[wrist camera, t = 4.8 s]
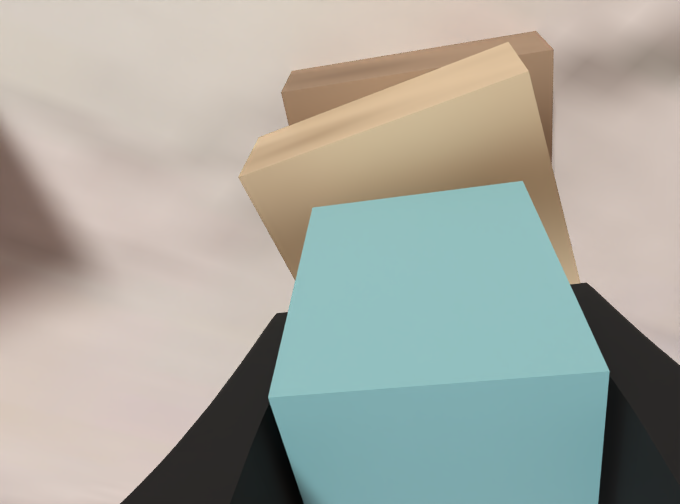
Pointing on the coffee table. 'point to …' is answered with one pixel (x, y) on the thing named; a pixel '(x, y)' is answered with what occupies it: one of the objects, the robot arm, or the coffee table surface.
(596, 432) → the teal block
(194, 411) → the coffee table surface
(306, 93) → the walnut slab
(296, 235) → the oak slab
